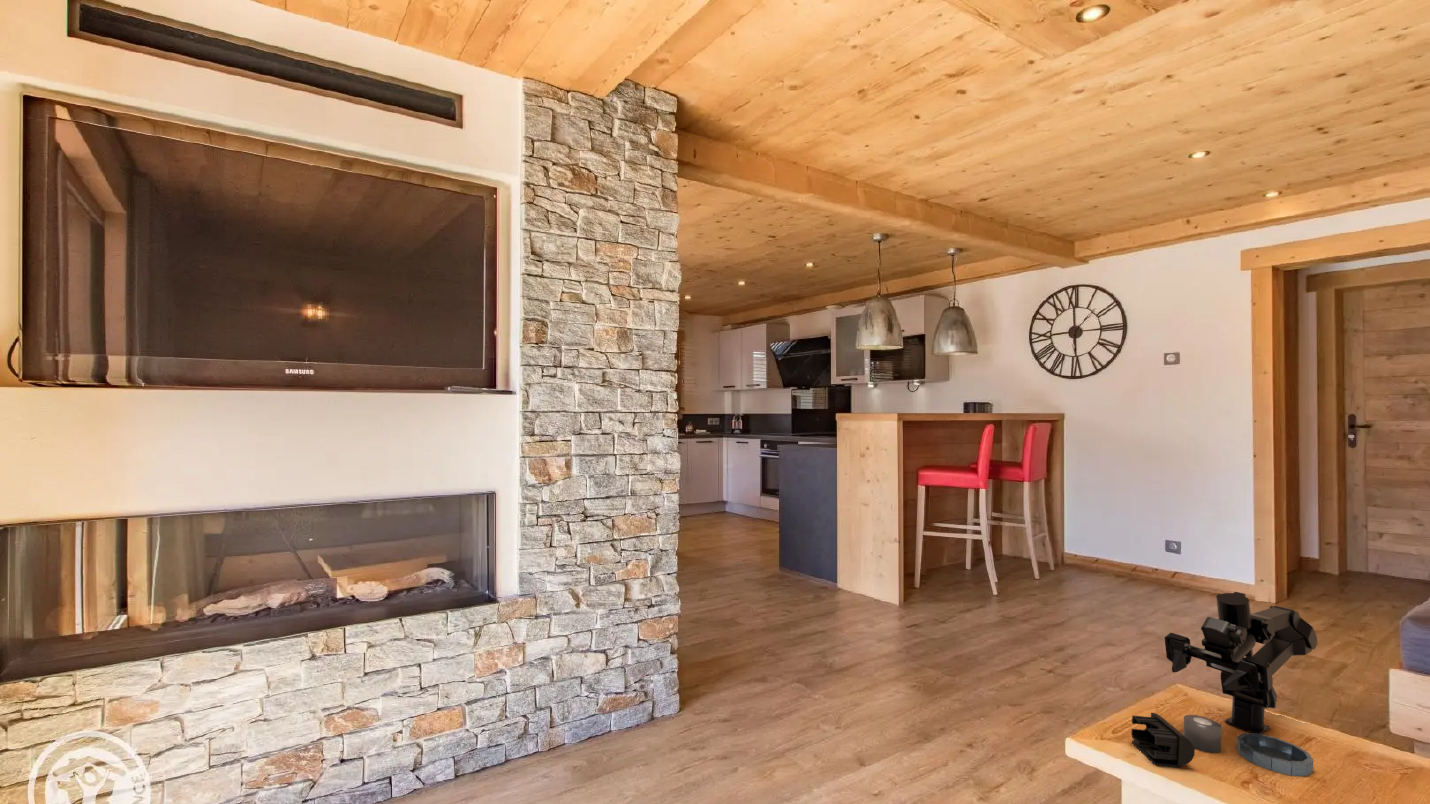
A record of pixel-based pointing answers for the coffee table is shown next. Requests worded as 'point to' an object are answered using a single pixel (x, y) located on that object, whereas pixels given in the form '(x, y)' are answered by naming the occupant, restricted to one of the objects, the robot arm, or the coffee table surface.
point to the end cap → (1161, 742)
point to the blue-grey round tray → (1274, 754)
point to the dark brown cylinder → (1203, 733)
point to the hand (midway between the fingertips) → (1197, 678)
